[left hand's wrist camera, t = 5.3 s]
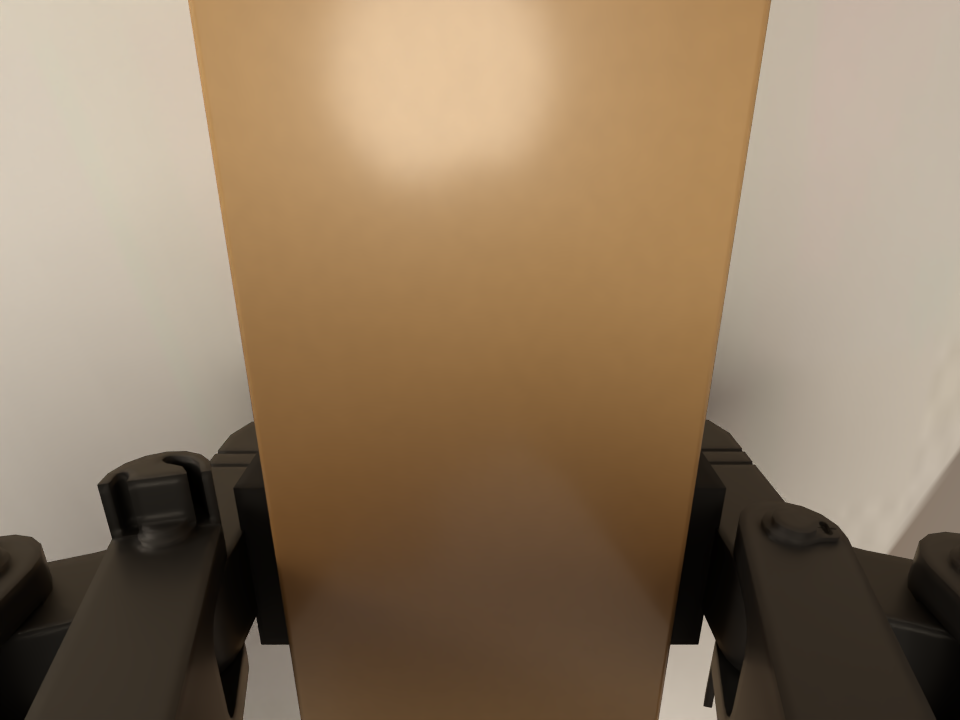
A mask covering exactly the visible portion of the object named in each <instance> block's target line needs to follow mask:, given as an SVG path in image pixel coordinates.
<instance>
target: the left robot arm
mask: <svg viewBox="0 0 960 720" xmlns="http://www.w3.org/2000/svg"><path fill="white" fill-rule="evenodd" d="M97 486H98V489H99V493H100V496H101V500H102V504H103V507H104V511H105V514H106V518H107V522H108V525H109V529H110V532H111V536H112V541H111V543H110V545H109V547H108V549H107V550H104V551H100V552H97V553H92V554H87V555H82V556H77V557H72V558H67V559H62V560H57V561H52V562H47V560H46V557H45V554H44V551H43V548H42V545H41V544H40V543H39V542H38V541H36V540H35V539H34V538H32V537H28V536H21V535H9V536H0V720H243V713H244V705H245V697H246V689H247V680H248V672H249V664H248V657H247V651H246V646H245V640H246V637H247V635H248V633H249V631H250V629H251V626H252V624H253V622H254V620H255V618H257V623H258V629H259V634H260V640H261V645H289V639H288V633H287V627H286V620H285V614H284V607H283V601H282V595H281V588H280V582H279V576H278V569H277V563H276V557H275V550H274V544H273V537H272V531H271V525H270V518H269V512H268V506H267V499H266V493H265V486H264V480H263V474H262V467H261V461H260V455H259V448H258V442H257V436H256V429H255V423H254V422H251V423H249V424H248V425H246V426H244V427H243V428H241V429H240V430H238V431H236V432H235V433H233V434H232V435H230V436H229V438H228V439H227V440H226V441H225V443H224V444H223V445H222V446H221V448H220V449H219V450H218V454H215V455H214V456H213V458H212V459H211V460H210V461H209V460H208V459H206V458H205V457H204V456H202V455H201V454H197V453H192V452H187V451H177V452H163V453H158V454H153V455H148V456H144V457H142V458H139V459H136V460H133V461H131V462H128V463H125V464H123V465H122V466H120V467H118V468H117V469H115V470H113V471H112V472H110V473H108V474H107V475H106V476H105V477H104V478H103V479H102V480H101V481H100V482H99V484H98V485H97ZM704 615H705V618H706V620H707V622H708V624H709V626H710V629H711V631H712V633H713V635H714V637H715V640H716V641H715V646H714V651H713V656H712V661H711V667H710V672H709V677H708V682H707V687H706V692H705V699H704V706H705V707H710V708H712V704H713V699H714V695H715V704H716V712H717V720H960V534H959V533H950V532H941V533H934V534H928V535H927V536H926V537H924V538H923V539H922V540H920V541H919V544H918V547H917V550H916V553H915V556H914V559H913V560H911V559H906V558H901V557H896V556H891V555H886V554H881V553H876V552H871V551H866V550H862V549H858V548H854V547H852V546H851V544H850V542H849V540H848V538H847V537H846V535H845V534H844V533H843V532H842V530H841V529H840V528H839V527H838V526H837V525H836V524H835V523H833V522H832V521H830V520H829V519H827V518H826V517H824V516H823V515H821V514H819V513H817V512H814V511H812V510H810V509H807V508H805V507H803V506H799V505H794V504H790V503H786V502H784V500H783V499H782V498H781V497H780V495H779V494H778V493H777V492H776V490H775V489H774V488H773V487H772V485H771V484H770V483H769V482H768V480H767V479H766V478H765V477H764V475H763V474H762V473H761V472H760V470H759V469H758V468H757V467H756V465H752V460H751V459H750V458H749V457H748V456H747V454H746V453H745V452H742V448H741V447H740V446H739V444H738V443H737V442H736V441H735V439H734V438H733V437H732V436H731V434H730V433H729V432H727V431H725V430H724V429H722V428H720V427H719V426H717V425H715V424H714V423H712V422H711V421H709V420H705V425H704V432H703V438H702V445H701V451H700V457H699V464H698V470H697V477H696V483H695V489H694V496H693V502H692V508H691V515H690V521H689V528H688V534H687V540H686V547H685V553H684V560H683V566H682V572H681V579H680V585H679V591H678V598H677V604H676V611H675V617H674V623H673V630H672V636H671V643H670V645H698V643H699V638H700V632H701V627H702V621H703V616H704Z"/></svg>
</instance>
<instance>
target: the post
mask: <svg viewBox="0 0 960 720" xmlns="http://www.w3.org/2000/svg"><path fill="white" fill-rule="evenodd" d="M188 3H189V9H190V15H191V22H192V28H193V34H194V41H195V47H196V54H197V60H198V66H199V73H200V79H201V85H202V92H203V98H204V105H205V111H206V117H207V124H208V130H209V136H210V143H211V149H212V155H213V162H214V168H215V175H216V181H217V187H218V194H219V200H220V206H221V213H222V219H223V225H224V232H225V238H226V245H227V251H228V257H229V264H230V270H231V276H232V283H233V289H234V295H235V302H236V308H237V315H238V321H239V327H240V334H241V340H242V346H243V353H244V359H245V366H246V372H247V378H248V385H249V391H250V397H251V404H252V410H253V416H254V423H255V429H256V436H257V442H258V448H259V455H260V461H261V467H262V474H263V480H264V486H265V493H266V499H267V506H268V512H269V518H270V525H271V531H272V537H273V544H274V550H275V557H276V563H277V569H278V576H279V582H280V588H281V595H282V601H283V607H284V614H285V620H286V627H287V633H288V639H289V646H290V652H291V658H292V665H293V671H294V677H295V684H296V690H297V697H298V703H299V709H300V716H301V720H658V719H659V713H660V706H661V700H662V694H663V687H664V681H665V674H666V668H667V662H668V655H669V649H670V643H671V636H672V630H673V623H674V617H675V611H676V604H677V598H678V591H679V585H680V579H681V572H682V566H683V560H684V553H685V547H686V540H687V534H688V528H689V521H690V515H691V508H692V502H693V496H694V489H695V483H696V477H697V470H698V464H699V457H700V451H701V445H702V438H703V432H704V425H705V419H706V413H707V406H708V400H709V394H710V387H711V381H712V374H713V368H714V362H715V355H716V349H717V342H718V336H719V330H720V323H721V317H722V311H723V304H724V298H725V291H726V285H727V279H728V272H729V266H730V259H731V253H732V247H733V240H734V234H735V228H736V221H737V215H738V208H739V202H740V196H741V189H742V183H743V176H744V170H745V164H746V157H747V151H748V144H749V138H750V132H751V125H752V119H753V113H754V106H755V100H756V93H757V87H758V81H759V74H760V68H761V61H762V55H763V49H764V42H765V36H766V30H767V23H768V17H769V10H770V4H771V0H188Z"/></svg>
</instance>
